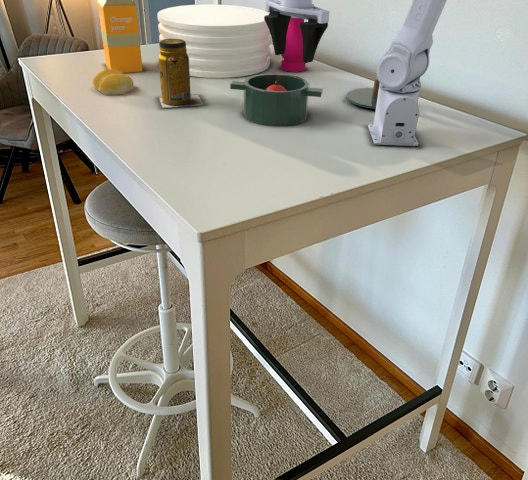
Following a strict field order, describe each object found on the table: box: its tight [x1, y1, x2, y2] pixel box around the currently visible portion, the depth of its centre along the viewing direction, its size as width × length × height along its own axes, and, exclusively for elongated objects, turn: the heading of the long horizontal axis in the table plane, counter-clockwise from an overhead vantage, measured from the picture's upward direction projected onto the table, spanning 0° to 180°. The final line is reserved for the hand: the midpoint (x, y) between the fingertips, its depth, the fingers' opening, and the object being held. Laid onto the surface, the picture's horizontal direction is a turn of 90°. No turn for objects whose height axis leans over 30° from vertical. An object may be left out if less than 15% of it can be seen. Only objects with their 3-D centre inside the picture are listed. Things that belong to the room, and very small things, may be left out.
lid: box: [345, 77, 380, 110], centre depth 118 cm, size 14×14×5 cm
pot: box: [229, 73, 324, 127], centre depth 108 cm, size 13×18×6 cm
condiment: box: [158, 39, 204, 108], centre depth 112 cm, size 7×8×12 cm
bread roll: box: [92, 68, 134, 96], centre depth 120 cm, size 8×9×4 cm
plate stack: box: [157, 3, 272, 79], centre depth 138 cm, size 28×28×12 cm
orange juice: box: [96, 0, 144, 74], centre depth 130 cm, size 8×9×20 cm
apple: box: [266, 81, 287, 91], centre depth 108 cm, size 6×6×6 cm
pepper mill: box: [280, 13, 307, 73], centre depth 133 cm, size 7×7×20 cm
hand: (293, 58), depth 106 cm, fingers open, 7 cm apart
